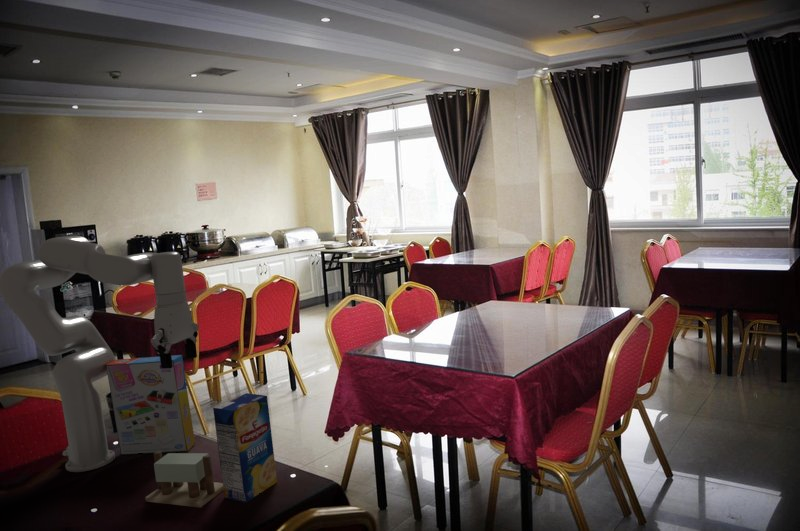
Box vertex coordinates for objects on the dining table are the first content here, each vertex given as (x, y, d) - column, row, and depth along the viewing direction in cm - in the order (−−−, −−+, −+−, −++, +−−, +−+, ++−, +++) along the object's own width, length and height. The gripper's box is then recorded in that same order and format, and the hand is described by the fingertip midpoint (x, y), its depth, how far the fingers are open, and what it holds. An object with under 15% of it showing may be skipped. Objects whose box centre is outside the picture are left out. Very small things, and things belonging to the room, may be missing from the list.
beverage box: (224, 497, 147) (212, 408, 144) (256, 477, 156) (246, 393, 154) (245, 502, 143) (233, 411, 141) (277, 481, 153) (267, 395, 150)
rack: (145, 501, 149) (139, 461, 147) (173, 482, 158) (168, 444, 157) (201, 507, 143) (195, 466, 142) (227, 487, 152) (222, 448, 151)
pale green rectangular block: (156, 481, 148) (153, 463, 148) (170, 470, 154) (168, 453, 154) (197, 482, 146) (195, 464, 145) (210, 471, 152) (208, 453, 151)
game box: (196, 444, 182) (183, 354, 179) (187, 452, 177) (174, 359, 173) (129, 447, 185) (115, 358, 181) (119, 455, 179) (105, 364, 176)
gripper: (181, 293, 172) (189, 353, 174) (135, 306, 156) (145, 372, 158) (204, 292, 169) (211, 354, 171) (159, 305, 153) (168, 372, 155)
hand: (179, 362), depth 165 cm, fingers open, 9 cm apart
